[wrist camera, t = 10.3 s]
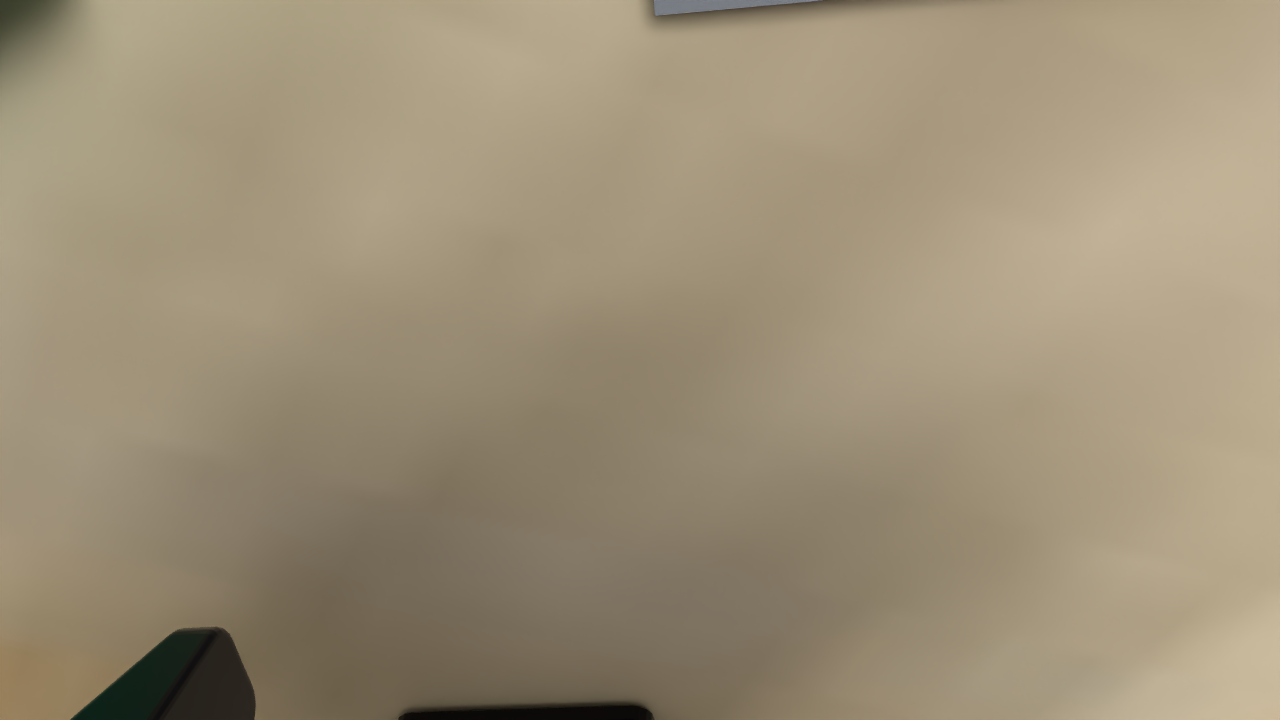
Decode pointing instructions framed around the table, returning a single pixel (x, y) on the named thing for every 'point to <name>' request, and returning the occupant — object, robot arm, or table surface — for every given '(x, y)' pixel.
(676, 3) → the socket plate
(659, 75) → the table surface
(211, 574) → the table surface
